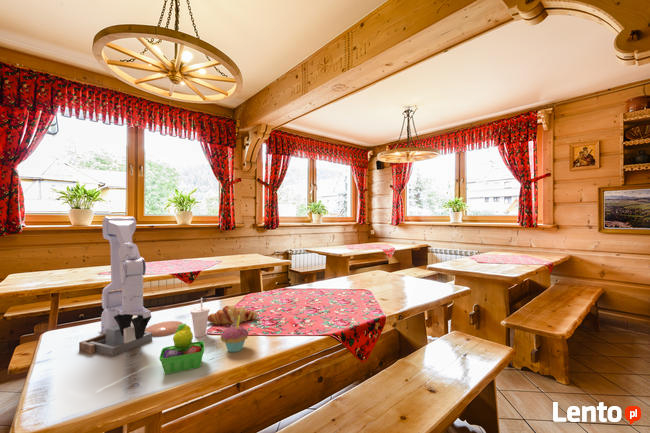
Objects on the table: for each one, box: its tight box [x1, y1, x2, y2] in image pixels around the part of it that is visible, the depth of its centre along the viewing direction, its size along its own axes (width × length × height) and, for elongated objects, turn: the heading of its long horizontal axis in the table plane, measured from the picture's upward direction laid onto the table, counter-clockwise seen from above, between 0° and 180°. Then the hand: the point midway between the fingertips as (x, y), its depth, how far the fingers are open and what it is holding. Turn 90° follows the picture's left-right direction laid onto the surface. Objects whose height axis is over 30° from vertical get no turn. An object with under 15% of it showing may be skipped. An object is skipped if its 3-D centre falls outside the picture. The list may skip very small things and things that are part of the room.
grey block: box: [105, 325, 124, 347], centre depth 96 cm, size 4×4×6 cm
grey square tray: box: [89, 325, 153, 358], centre depth 96 cm, size 13×13×7 cm
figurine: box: [230, 318, 238, 327], centre depth 105 cm, size 5×4×6 cm
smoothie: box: [190, 297, 210, 338], centre depth 103 cm, size 6×6×14 cm
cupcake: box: [220, 314, 249, 353], centre depth 93 cm, size 9×8×12 cm
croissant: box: [207, 305, 258, 326], centre depth 118 cm, size 21×10×8 cm, turn 107°
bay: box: [78, 333, 106, 355], centre depth 97 cm, size 6×16×3 cm, turn 158°
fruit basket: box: [158, 323, 205, 375], centre depth 82 cm, size 11×9×11 cm
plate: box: [145, 320, 184, 338], centre depth 109 cm, size 13×13×1 cm
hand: (132, 336), depth 93 cm, fingers open, 6 cm apart
